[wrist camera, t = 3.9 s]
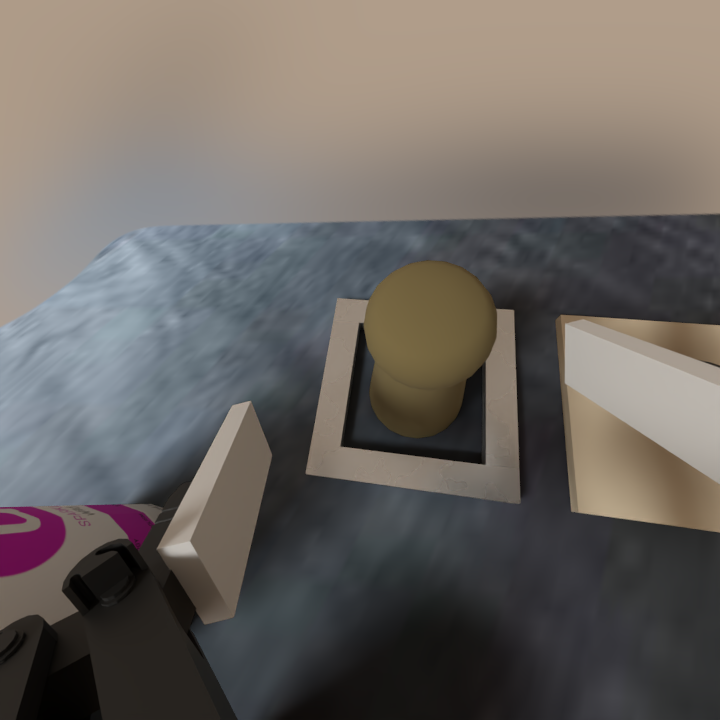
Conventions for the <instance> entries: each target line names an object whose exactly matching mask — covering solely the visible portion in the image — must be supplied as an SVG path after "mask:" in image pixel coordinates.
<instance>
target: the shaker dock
mask: <svg viewBox="0 0 720 720" xmlns="http://www.w3.org/2000/svg"><path fill="white" fill-rule="evenodd" d="M368 301H369V300H355V299H340V298H338V299H337V304H336V310H335V315H334V321H333V326H332V332H331V337H330V343H329V348H328V353H327V359H326V364H325V370H324V375H323V381H322V386H321V392H320V397H319V403H318V408H317V414H316V419H315V425H314V430H313V435H312V441H311V446H310V452H309V457H308V463H307V468H306V474H308V475H313V476H320V477H327V478H334V479H342V480H349V481H356V482H363V483H370V484H377V485H384V486H392V487H399V488H406V489H413V490H420V491H427V492H434V493H442V494H449V495H456V496H463V497H470V498H477V499H484V500H492V501H499V502H506V503H513V504H521V503H520V474H519V444H518V415H517V386H516V357H515V328H514V310H506V309H496V310H497V338H496V341H495V343H494V345H493V348H492V350H491V353H490V355H489V357H488V358H487V360H486V361H485V362H484V363H483V364H482V464H474V463H466V462H458V461H450V460H442V459H434V458H426V457H419V456H411V455H403V454H395V453H387V452H379V451H371V450H363V449H355V448H347V447H343V443H344V436H345V429H346V423H347V416H348V409H349V402H350V396H351V389H352V382H353V376H354V369H355V362H356V355H357V349H358V342H359V335H360V329H364V319H365V313H366V308H367V305H368Z"/></svg>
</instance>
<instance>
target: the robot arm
mask: <svg viewBox="0 0 720 720" xmlns="http://www.w3.org/2000/svg"><path fill="white" fill-rule="evenodd" d="M565 384H567V385H568V386H570V387H571V388H573V389H574V390H576V391H578V392H579V393H581V394H582V395H584V396H585V397H587V398H588V399H590V400H591V401H593V402H594V403H596V404H597V405H599V406H600V407H602V408H604V409H605V410H607V411H608V412H610V413H611V414H613V415H614V416H616V417H617V418H619V419H620V420H622V421H623V422H625V423H627V424H628V425H630V426H631V427H633V428H634V429H636V430H637V431H639V432H640V433H642V434H643V435H645V436H646V437H648V438H649V439H651V440H653V441H654V442H656V443H657V444H659V445H660V446H662V447H663V448H665V449H666V450H668V451H669V452H671V453H672V454H674V455H676V456H677V457H679V458H680V459H682V460H683V461H685V462H686V463H688V464H689V465H691V466H692V467H694V468H695V469H697V470H698V471H700V472H702V473H703V474H705V475H706V476H708V477H709V478H711V479H712V480H714V481H715V482H717V483H718V484H720V365H717V364H714V363H711V362H707V361H701V360H696V359H693V358H691V357H688V356H685V355H682V354H679V353H677V352H674V351H671V350H668V349H665V348H663V347H660V346H657V345H654V344H651V343H649V342H646V341H643V340H640V339H637V338H635V337H632V336H629V335H626V334H623V333H621V332H618V331H615V330H612V329H609V328H607V327H604V326H601V325H598V324H595V323H593V322H590V321H587V320H584V319H582V320H578V321H574V322H570V323H566V324H565ZM271 459H272V453H271V451H270V448H269V445H268V443H267V440H266V438H265V435H264V433H263V430H262V428H261V425H260V423H259V420H258V418H257V415H256V413H255V410H254V408H253V405H252V403H251V401H248V402H244V403H240V404H236V405H232V407H231V409H230V411H229V413H228V415H227V417H226V418H225V420H224V422H223V424H222V426H221V428H220V430H219V432H218V434H217V435H216V437H215V439H214V441H213V443H212V445H211V447H210V449H209V451H208V453H207V454H206V456H205V458H204V460H203V462H202V464H201V466H200V468H199V470H198V472H197V473H196V475H195V477H194V479H193V481H191V482H187V483H183V484H182V485H181V486H180V487H179V488H178V489H177V490H176V491H175V492H174V493H173V494H172V495H171V496H170V497H169V499H168V500H167V502H166V504H165V505H164V507H163V509H162V513H160V514H159V516H158V517H157V519H156V521H155V525H153V526H152V528H151V529H150V531H149V533H148V535H147V536H146V538H145V540H144V541H143V543H142V545H141V547H140V548H139V550H137V549H136V547H135V546H134V544H133V543H132V542H131V541H130V540H129V539H116V540H113V541H110V542H107V543H105V544H104V545H102V546H100V547H98V548H96V549H94V550H93V551H92V552H90V553H89V554H88V555H87V556H85V557H84V558H83V559H81V560H80V561H79V562H78V563H77V564H76V566H75V567H74V568H73V569H72V570H71V571H70V572H69V574H68V575H67V577H66V579H65V580H64V582H63V586H62V592H63V593H64V594H65V596H66V597H67V598H68V599H69V600H70V602H71V603H72V604H73V605H74V606H75V607H76V609H77V610H78V612H76V613H74V614H72V615H70V616H68V617H66V618H64V619H62V620H60V621H58V622H56V623H54V624H52V625H49V624H48V623H47V622H46V621H45V619H44V618H42V617H41V616H40V615H38V614H36V615H28V616H26V617H23V618H21V619H19V620H17V621H14V622H13V623H11V624H10V625H8V626H7V627H5V628H4V629H2V630H0V720H238V719H237V717H236V715H235V713H234V712H233V710H232V708H231V706H230V704H229V702H228V700H227V698H226V696H225V694H224V692H223V690H222V688H221V686H220V684H219V682H218V680H217V678H216V676H215V674H214V672H213V671H212V669H211V667H210V665H209V663H208V661H207V659H206V657H205V655H204V653H203V651H202V649H201V647H200V645H199V643H198V641H197V639H196V637H195V635H194V634H193V632H192V631H191V629H190V625H191V622H192V619H193V616H194V613H195V610H196V612H197V614H198V615H199V617H200V618H201V620H202V621H203V623H204V625H205V624H209V623H213V622H217V621H221V620H226V619H230V618H234V615H235V611H236V607H237V602H238V598H239V594H240V590H241V585H242V581H243V577H244V573H245V569H246V564H247V560H248V556H249V552H250V547H251V543H252V539H253V535H254V530H255V526H256V522H257V518H258V514H259V509H260V505H261V501H262V497H263V492H264V488H265V484H266V480H267V475H268V471H269V467H270V463H271Z"/></svg>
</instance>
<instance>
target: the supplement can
mask: <svg viewBox="0 0 720 720" xmlns="http://www.w3.org/2000/svg"><path fill="white" fill-rule="evenodd" d="M162 509H163V508H161V507H158V506H155V505H153V504H120V505H78V506H37V507H0V630H2V629H4V628H5V627H7V626H8V625H10V624H11V623H13V622H14V621H17V620H19V619H21V618H23V617H26V616H28V615H36V614H38V615H40V616H41V617H42V618H44V619H45V621H46V622H47V623H48V624H49V625H52V624H54V623H56V622H58V621H60V620H62V619H64V618H66V617H68V616H70V615H72V614H74V613H76V612H78V610H77V609H76V607H75V606H74V605H73V604H72V603H71V602H70V600H69V599H68V598H67V597H66V596H65V594H64V593H63V592H62V586H63V582H64V580H65V579H66V577H67V575H68V574H69V572H70V571H71V570H72V569H73V568H74V567H75V566H76V564H77V563H78V562H79V561H80V560H81V559H83V558H84V557H85V556H87V555H88V554H89V553H90V552H92V551H93V550H94V549H96V548H98V547H100V546H102V545H104V544H105V543H107V542H110V541H113V540H116V539H129V540H130V541H131V542H132V543H133V544H134V546H135V547H136V549H137V550H139V548H140V547H141V545H142V543H143V541H144V540H145V538H146V536H147V535H148V533H149V531H150V529H151V528H152V526H153V525H155V521H156V519H157V517H158V516H159V514H160V513H162Z"/></svg>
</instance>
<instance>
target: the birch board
mask: <svg viewBox="0 0 720 720" xmlns="http://www.w3.org/2000/svg"><path fill="white" fill-rule="evenodd" d="M582 319H584V320H587V321H590V322H593V323H595V324H598V325H601V326H604V327H607V328H609V329H612V330H615V331H618V332H621V333H623V334H626V335H629V336H632V337H635V338H637V339H640V340H643V341H646V342H649V343H651V344H654V345H657V346H660V347H663V348H665V349H668V350H671V351H674V352H677V353H679V354H682V355H685V356H688V357H691V358H693V359H696V360H701V361H707V362H711V363H714V364H717V365H720V325H706V324H692V323H677V322H662V321H647V320H632V319H617V318H602V317H587V316H572V315H560V316H559V317H558V318H557V319H556V320H555V323H556V335H557V347H558V359H559V371H560V383H561V394H562V406H563V418H564V430H565V442H566V454H567V466H568V478H569V490H570V502H571V512H577V513H585V514H592V515H599V516H606V517H613V518H620V519H627V520H635V521H642V522H649V523H656V524H663V525H670V526H677V527H685V528H692V529H699V530H706V531H713V532H720V484H718V483H717V482H715V481H714V480H712V479H711V478H709V477H708V476H706V475H705V474H703V473H702V472H700V471H698V470H697V469H695V468H694V467H692V466H691V465H689V464H688V463H686V462H685V461H683V460H682V459H680V458H679V457H677V456H676V455H674V454H672V453H671V452H669V451H668V450H666V449H665V448H663V447H662V446H660V445H659V444H657V443H656V442H654V441H653V440H651V439H649V438H648V437H646V436H645V435H643V434H642V433H640V432H639V431H637V430H636V429H634V428H633V427H631V426H630V425H628V424H627V423H625V422H623V421H622V420H620V419H619V418H617V417H616V416H614V415H613V414H611V413H610V412H608V411H607V410H605V409H604V408H602V407H600V406H599V405H597V404H596V403H594V402H593V401H591V400H590V399H588V398H587V397H585V396H584V395H582V394H581V393H579V392H578V391H576V390H574V389H573V388H571V387H570V386H568V385H567V384H565V324H566V323H570V322H574V321H578V320H582Z"/></svg>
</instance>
